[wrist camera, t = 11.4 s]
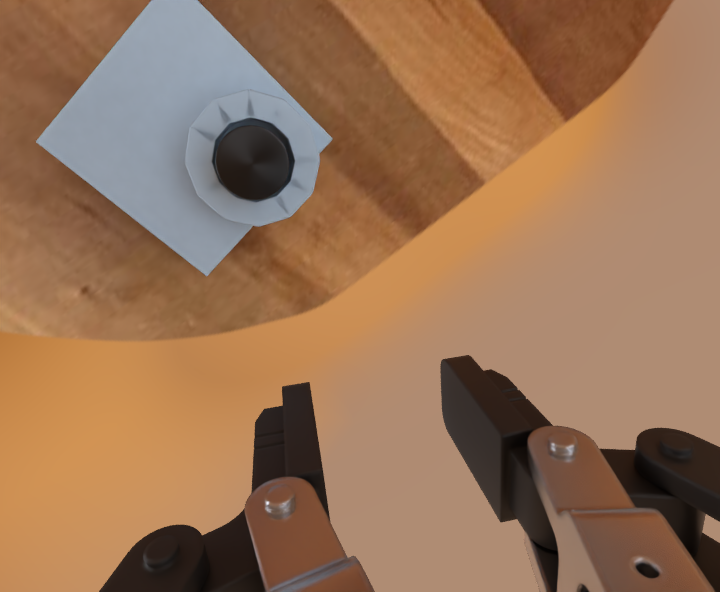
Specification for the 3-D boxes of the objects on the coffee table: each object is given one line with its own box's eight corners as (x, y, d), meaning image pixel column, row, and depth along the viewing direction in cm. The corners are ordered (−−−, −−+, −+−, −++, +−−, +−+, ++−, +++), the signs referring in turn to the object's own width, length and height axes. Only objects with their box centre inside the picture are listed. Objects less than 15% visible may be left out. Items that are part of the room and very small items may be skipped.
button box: (335, 147, 29) (350, 152, 24) (225, 267, 30) (215, 298, 25) (186, -4, 25) (163, -41, 20) (68, 139, 27) (14, 143, 21)
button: (301, 159, 24) (303, 162, 22) (257, 207, 24) (256, 214, 22) (250, 110, 22) (248, 108, 21) (205, 161, 23) (199, 164, 21)
